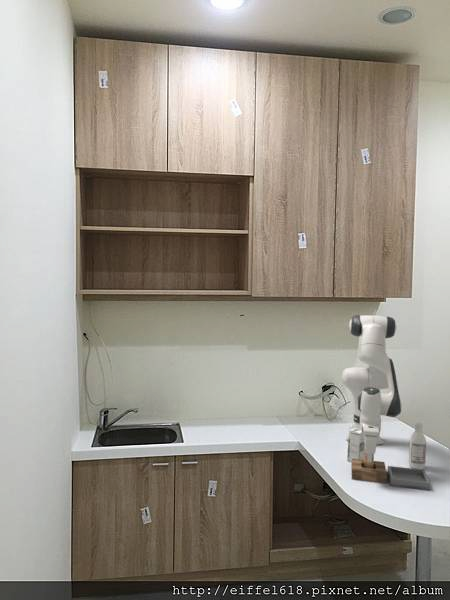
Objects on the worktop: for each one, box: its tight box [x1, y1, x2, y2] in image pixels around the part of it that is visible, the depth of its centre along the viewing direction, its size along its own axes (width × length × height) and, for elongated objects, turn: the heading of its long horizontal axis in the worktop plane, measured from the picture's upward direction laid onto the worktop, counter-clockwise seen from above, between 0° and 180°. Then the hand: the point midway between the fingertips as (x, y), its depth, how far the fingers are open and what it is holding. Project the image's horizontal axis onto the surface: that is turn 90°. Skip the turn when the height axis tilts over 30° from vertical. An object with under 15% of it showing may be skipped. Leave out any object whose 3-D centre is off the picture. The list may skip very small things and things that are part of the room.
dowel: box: [364, 446, 375, 469], centre depth 216 cm, size 4×4×14 cm
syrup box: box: [346, 428, 365, 463], centre depth 232 cm, size 6×6×14 cm
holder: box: [350, 459, 388, 484], centre depth 216 cm, size 14×14×4 cm
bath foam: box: [408, 422, 427, 470], centre depth 227 cm, size 7×7×20 cm
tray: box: [387, 465, 431, 491], centre depth 210 cm, size 15×15×3 cm
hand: (369, 457), depth 216 cm, fingers open, 8 cm apart
